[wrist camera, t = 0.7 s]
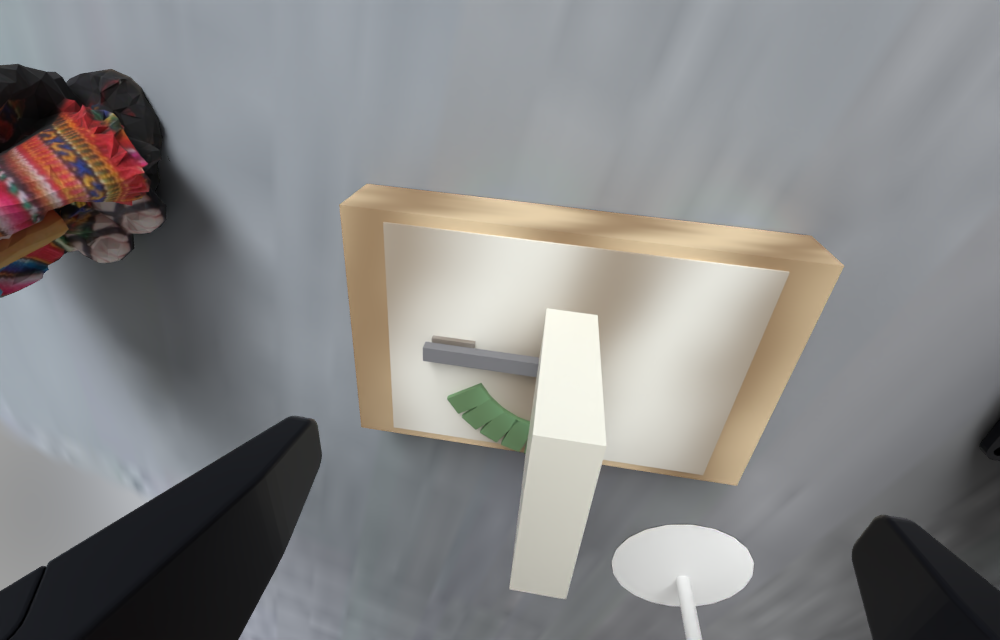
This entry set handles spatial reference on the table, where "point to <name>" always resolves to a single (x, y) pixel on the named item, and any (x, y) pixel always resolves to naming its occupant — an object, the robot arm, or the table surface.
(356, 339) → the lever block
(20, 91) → the figurine
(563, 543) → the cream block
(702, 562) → the wineglass
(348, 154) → the table surface
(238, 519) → the robot arm
